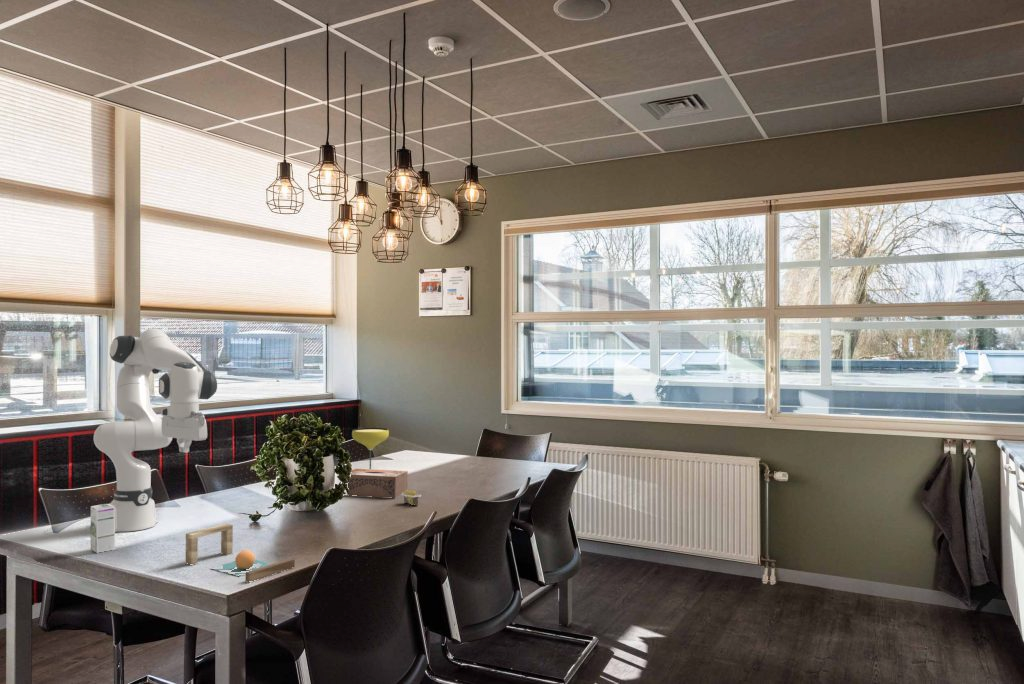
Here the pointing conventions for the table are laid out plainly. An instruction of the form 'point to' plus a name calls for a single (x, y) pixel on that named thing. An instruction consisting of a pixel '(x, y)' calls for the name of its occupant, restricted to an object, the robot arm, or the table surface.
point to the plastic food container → (410, 497)
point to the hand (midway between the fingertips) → (184, 452)
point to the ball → (245, 560)
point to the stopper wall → (270, 569)
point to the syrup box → (102, 528)
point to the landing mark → (232, 565)
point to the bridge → (193, 536)
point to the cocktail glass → (370, 437)
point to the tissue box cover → (377, 483)
